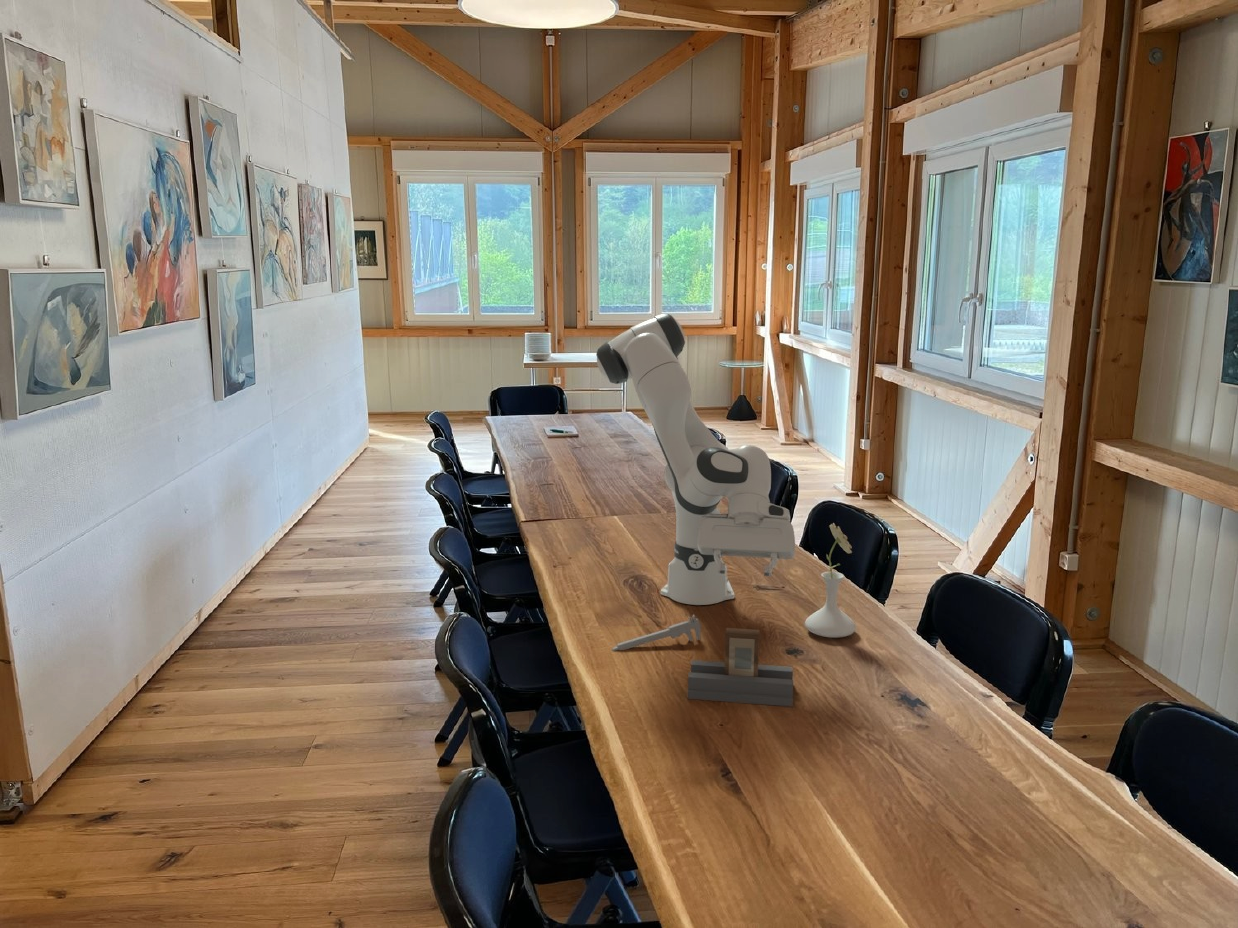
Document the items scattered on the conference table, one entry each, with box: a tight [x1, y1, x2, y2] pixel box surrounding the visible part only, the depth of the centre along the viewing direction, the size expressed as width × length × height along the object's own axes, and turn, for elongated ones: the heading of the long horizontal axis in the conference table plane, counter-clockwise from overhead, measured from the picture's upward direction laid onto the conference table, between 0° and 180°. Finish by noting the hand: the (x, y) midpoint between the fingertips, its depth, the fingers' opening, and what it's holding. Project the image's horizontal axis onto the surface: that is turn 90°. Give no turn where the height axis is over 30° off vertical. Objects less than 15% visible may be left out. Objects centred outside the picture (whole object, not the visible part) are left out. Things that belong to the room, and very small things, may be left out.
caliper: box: [611, 614, 702, 652], centre depth 199 cm, size 20×1×6 cm, turn 106°
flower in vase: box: [804, 522, 857, 639], centre depth 205 cm, size 13×11×25 cm
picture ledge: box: [686, 659, 794, 707], centre depth 177 cm, size 10×20×4 cm, turn 80°
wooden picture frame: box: [724, 627, 760, 677], centre depth 176 cm, size 3×6×11 cm, turn 80°
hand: (744, 573), depth 185 cm, fingers open, 8 cm apart
